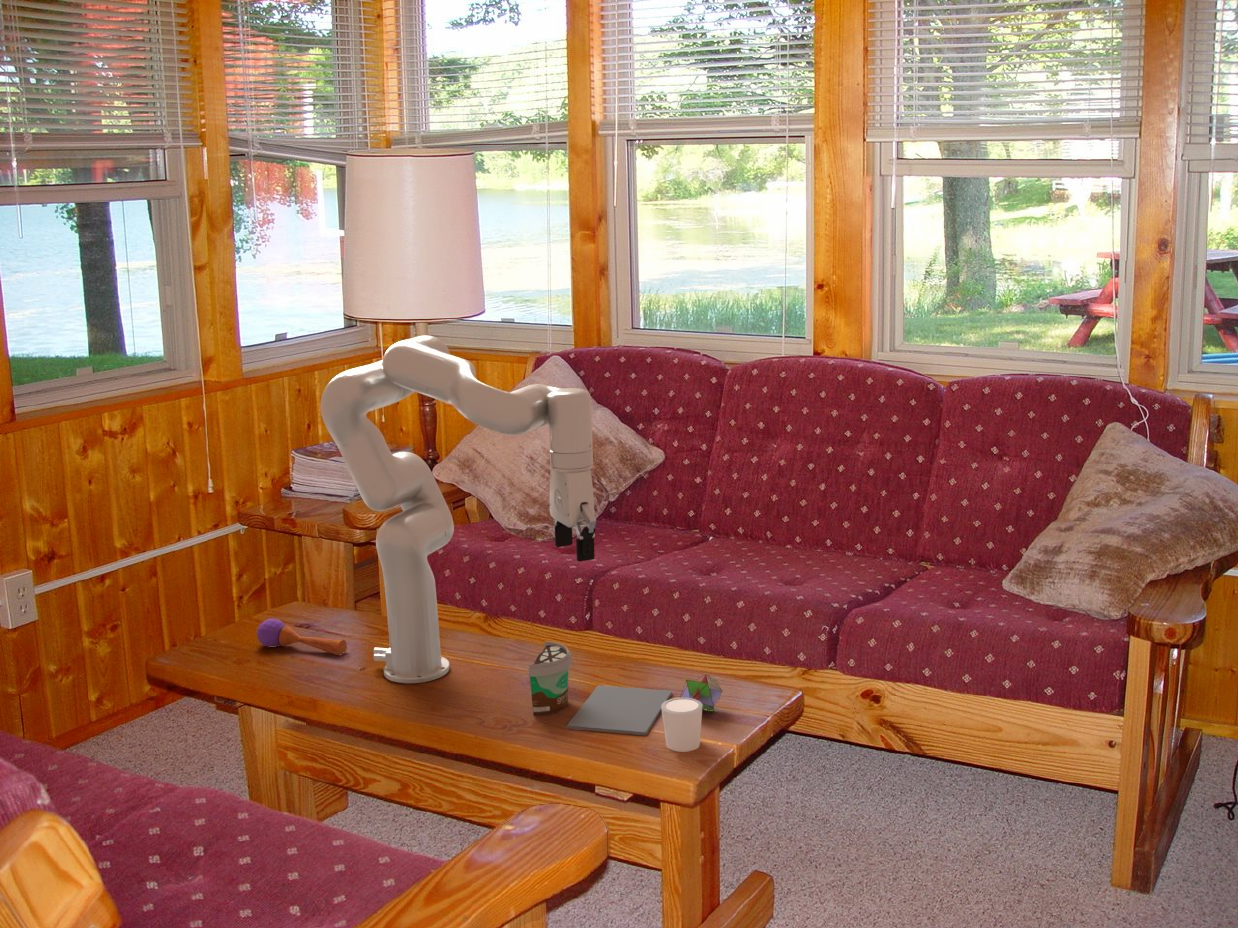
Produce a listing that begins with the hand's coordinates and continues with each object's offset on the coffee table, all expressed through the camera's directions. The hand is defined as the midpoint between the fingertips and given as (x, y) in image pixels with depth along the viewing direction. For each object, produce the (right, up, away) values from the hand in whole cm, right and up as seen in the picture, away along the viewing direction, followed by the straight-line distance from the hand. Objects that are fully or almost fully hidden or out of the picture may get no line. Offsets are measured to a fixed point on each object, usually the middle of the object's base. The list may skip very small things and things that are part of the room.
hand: (574, 552), depth 237 cm
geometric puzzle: (+22, -28, -4) cm, 36 cm away
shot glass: (+19, -31, -16) cm, 40 cm away
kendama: (-57, -22, +35) cm, 70 cm away
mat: (+8, -28, -2) cm, 29 cm away
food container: (-3, -28, +1) cm, 28 cm away
